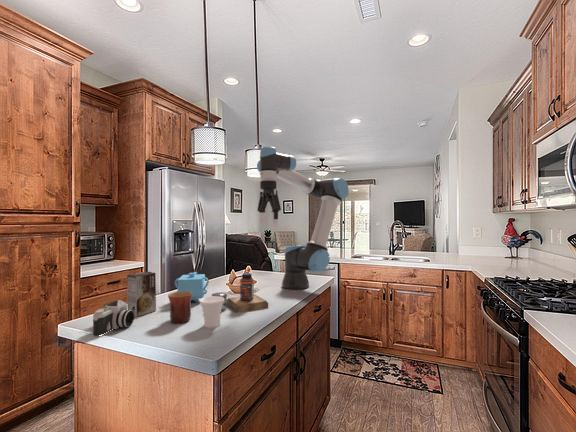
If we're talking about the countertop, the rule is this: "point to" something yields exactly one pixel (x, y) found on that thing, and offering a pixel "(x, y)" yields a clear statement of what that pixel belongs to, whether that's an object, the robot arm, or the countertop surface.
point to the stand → (246, 304)
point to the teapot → (193, 285)
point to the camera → (112, 317)
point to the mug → (180, 306)
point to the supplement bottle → (246, 287)
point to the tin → (224, 295)
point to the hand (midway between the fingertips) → (268, 226)
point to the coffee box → (141, 293)
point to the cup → (211, 310)
